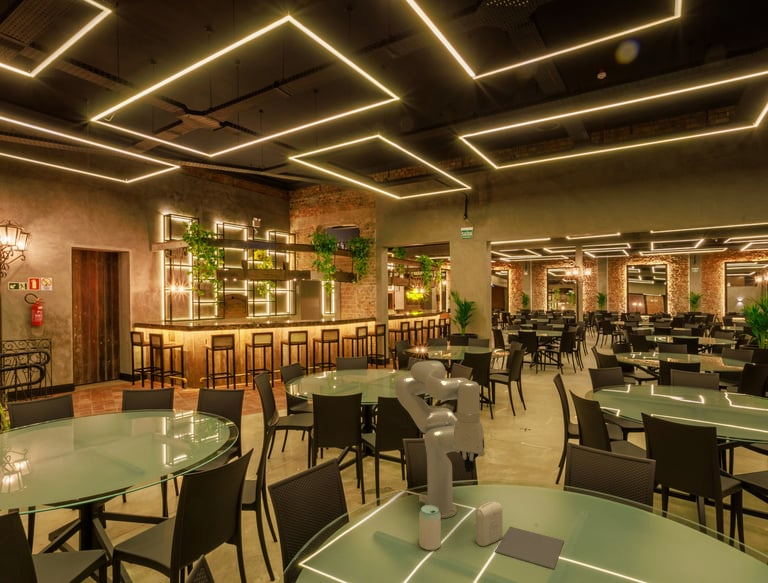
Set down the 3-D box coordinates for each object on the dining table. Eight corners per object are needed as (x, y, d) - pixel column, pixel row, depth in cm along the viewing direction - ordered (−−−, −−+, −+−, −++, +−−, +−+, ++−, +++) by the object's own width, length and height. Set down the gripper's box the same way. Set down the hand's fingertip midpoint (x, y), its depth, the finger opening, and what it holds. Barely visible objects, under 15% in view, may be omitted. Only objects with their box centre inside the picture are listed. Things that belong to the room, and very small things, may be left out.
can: (442, 542, 145) (442, 505, 146) (438, 553, 139) (438, 515, 139) (422, 538, 148) (422, 502, 148) (417, 549, 141) (416, 512, 141)
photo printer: (494, 533, 151) (494, 497, 151) (504, 538, 147) (504, 501, 148) (473, 542, 145) (473, 505, 145) (483, 548, 141) (483, 510, 142)
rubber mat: (494, 552, 139) (494, 551, 139) (509, 527, 154) (509, 526, 154) (554, 569, 130) (554, 568, 130) (563, 541, 145) (563, 540, 145)
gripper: (444, 417, 151) (445, 470, 151) (486, 422, 144) (487, 479, 143) (452, 412, 158) (453, 463, 157) (493, 417, 150) (494, 471, 149)
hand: (469, 470), depth 150 cm, fingers closed
